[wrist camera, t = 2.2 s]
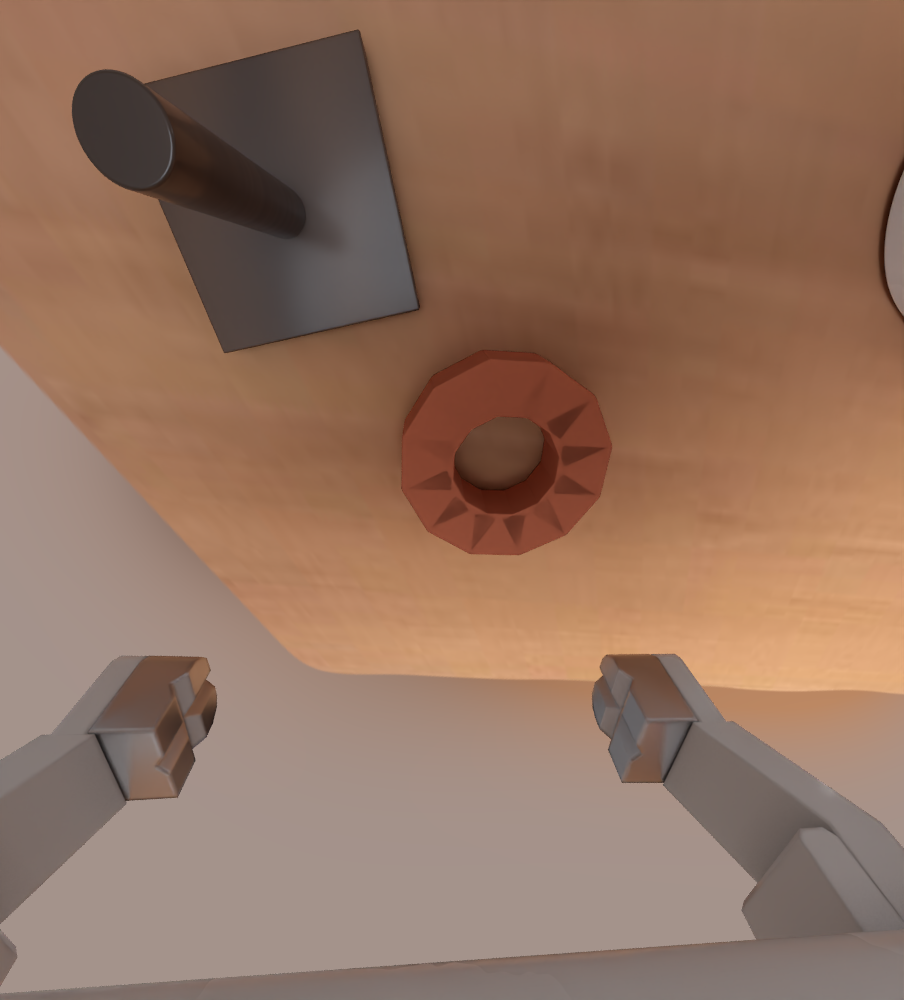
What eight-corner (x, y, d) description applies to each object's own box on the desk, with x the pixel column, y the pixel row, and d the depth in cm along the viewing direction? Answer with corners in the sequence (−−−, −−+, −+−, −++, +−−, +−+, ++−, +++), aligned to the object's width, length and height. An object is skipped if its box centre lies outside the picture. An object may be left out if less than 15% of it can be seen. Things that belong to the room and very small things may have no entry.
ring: (607, 357, 24) (632, 367, 21) (569, 529, 29) (585, 556, 26) (405, 345, 23) (402, 353, 20) (403, 525, 28) (400, 553, 25)
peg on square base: (364, 47, 18) (256, -367, 6) (420, 308, 22) (414, 332, 11) (134, 105, 18) (-345, -189, 7) (235, 349, 22) (48, 413, 11)
